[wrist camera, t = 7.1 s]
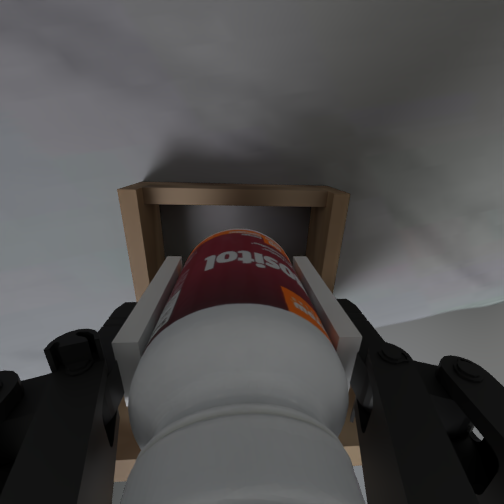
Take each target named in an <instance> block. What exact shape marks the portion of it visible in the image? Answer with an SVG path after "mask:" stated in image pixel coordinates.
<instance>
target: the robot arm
mask: <svg viewBox="0 0 504 504" xmlns="http://www.w3.org/2000/svg"><path fill="white" fill-rule="evenodd" d="M292 266H293V268H294V270H295V272H296V274H297V276H298V278H299V280H300V282H301V284H302V285H303V287H304V289H305V291H306V293H307V295H308V297H309V299H310V301H311V303H312V305H313V307H314V309H315V311H316V313H317V315H318V317H319V319H320V321H321V323H322V325H323V327H324V329H325V331H326V332H327V335H328V337H329V339H330V340H331V342H332V345H333V347H334V349H335V350H336V352H337V355H338V357H339V359H340V361H341V363H342V366H343V368H344V371H345V374H346V378H347V384H348V392H349V388H350V385H351V387H352V389H353V391H354V393H355V395H356V397H355V401H354V404H353V408H352V412H351V416H350V422H352V423H353V422H354V418H355V419H356V426H357V433H358V440H359V447H360V454H361V461H362V468H363V475H364V482H365V489H366V496H367V502H368V504H504V387H503V386H502V385H501V384H500V383H499V382H498V381H497V380H496V379H495V378H494V377H493V376H492V375H490V374H489V373H488V372H487V371H486V370H484V369H483V368H482V367H481V366H479V365H477V364H475V363H473V362H472V361H470V360H467V359H464V358H461V357H457V356H451V355H450V356H444V357H443V358H442V359H441V361H440V363H439V365H438V366H436V365H431V364H427V363H422V362H417V361H413V360H412V358H411V357H410V355H409V354H408V353H406V352H405V351H404V350H403V349H401V348H399V347H397V346H395V345H393V344H390V343H387V342H385V341H384V340H383V339H382V338H381V336H380V335H379V334H378V333H377V331H376V330H375V329H374V327H373V326H372V325H371V324H370V322H369V321H367V319H366V317H365V316H364V315H363V314H362V312H361V311H360V310H359V309H358V307H357V306H356V305H355V304H353V303H352V302H350V301H349V300H347V299H336V298H335V297H334V295H333V294H332V292H331V291H330V290H329V288H328V287H327V285H326V284H325V282H324V281H323V280H322V278H321V277H320V275H319V274H318V272H317V271H316V270H315V268H314V267H313V265H312V264H311V262H310V261H309V259H308V258H307V257H306V256H293V264H292ZM182 269H183V266H182V256H167V258H166V259H165V261H164V262H163V264H162V266H161V267H160V269H159V270H158V272H157V273H156V275H155V276H154V278H153V280H152V281H151V283H150V284H149V286H148V287H147V289H146V290H145V292H144V293H143V295H142V297H141V298H140V300H139V301H138V302H125V303H124V304H122V305H121V306H120V307H118V308H117V309H115V310H114V312H113V313H112V314H111V316H110V317H109V320H107V321H106V322H105V324H104V325H103V327H101V329H100V330H99V331H98V332H96V331H95V330H92V329H78V330H75V331H71V332H68V333H66V334H63V335H61V336H59V337H57V338H56V339H55V340H53V341H52V342H50V343H49V344H48V345H47V347H46V348H45V349H44V353H45V355H46V358H47V361H48V363H49V366H50V369H51V371H52V373H50V374H47V375H43V376H39V377H35V378H31V379H28V380H24V381H20V378H19V376H18V374H16V373H15V372H14V371H0V504H112V493H113V484H114V474H115V463H116V453H117V442H118V432H119V422H120V416H119V410H118V407H119V404H120V402H121V400H122V398H123V396H124V398H125V402H126V406H128V398H129V391H130V386H131V382H132V379H133V376H134V374H135V371H136V369H137V366H138V364H139V361H140V359H141V357H142V355H143V352H144V350H145V348H146V346H147V344H148V342H149V340H150V337H151V335H152V333H153V331H154V329H155V327H156V325H157V323H158V321H159V318H160V316H161V314H162V312H163V310H164V308H165V306H166V303H167V301H168V299H169V297H170V295H171V293H172V291H173V288H174V286H175V284H176V282H177V280H178V278H179V276H180V274H181V271H182ZM474 426H475V427H476V428H477V429H478V430H479V432H480V433H481V434H482V436H483V437H484V438H483V440H482V441H481V440H480V439H479V438H478V437H477V436H476V435H475V434H474V433H473V431H472V430H473V428H474Z"/></svg>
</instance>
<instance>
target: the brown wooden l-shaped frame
mask: <svg viewBox="0 0 504 504" xmlns="http://www.w3.org/2000/svg"><path fill="white" fill-rule="evenodd" d="M117 191H118V197H119V202H120V208H121V214H122V220H123V225H124V231H125V237H126V243H127V249H128V254H129V260H130V266H131V272H132V277H133V283H134V289H135V295H136V300H137V302H138V301H139V300H140V298H141V297H142V295H143V293H144V292H145V290H146V289H147V287H148V286H149V284H150V283H151V281H152V280H153V278H154V276H155V275H156V273H157V272H158V270H159V269H160V267H161V266H162V264H163V262H164V261H165V252H164V244H163V235H162V226H161V217H160V208H159V204H173V205H236V206H299V207H311V214H310V222H309V230H308V238H307V247H306V255H305V256H306V257H307V258H308V259H309V261H310V262H311V264H312V265H313V267H314V268H315V270H316V271H317V272H318V274H319V275H320V277H321V278H322V280H323V281H324V282H325V284H326V285H327V287H328V288H329V290H330V291H331V292H332V294H333V289H334V284H335V278H336V272H337V267H338V261H339V255H340V250H341V244H342V239H343V233H344V227H345V222H346V216H347V211H348V205H349V199H350V194H349V193H346V192H343V191H340V190H338V189H335V188H332V187H329V186H314V185H270V184H226V183H182V182H139V183H136V184H133V185H130V186H126V187H123V188H120V189H117ZM348 393H349V404H348V410H347V415H346V419H345V423H344V425H343V428H342V430H341V432H340V434H339V436H338V439H339V440H340V442H341V443H342V445H343V447H344V449H345V450H346V452H347V454H348V455H349V457H350V459H351V462H352V465H353V466H359V465H362V461H361V454H360V447H359V440H358V433H357V426H356V419H355V418H354V422H353V423H352V422H350V416H351V412H352V408H353V404H354V401H355V397H356V395H355V393H354V391H353V389H352V387H351V385H350V388H349V392H348ZM118 410H119V416H120V422H119V432H118V442H117V453H116V463H115V474H114V482H120V481H127V478H128V476H129V474H130V472H131V470H132V468H133V466H134V464H135V462H136V459H137V457H138V455H139V453H140V451H141V449H140V447H139V445H138V444H137V442H136V440H135V438H134V435H133V432H132V429H131V425H130V421H129V413H128V406H126V402H125V398H124V396H123V398H122V400H121V402H120V404H119V407H118Z"/></svg>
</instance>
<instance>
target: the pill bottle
mask: <svg viewBox="0 0 504 504" xmlns="http://www.w3.org/2000/svg"><path fill="white" fill-rule="evenodd" d="M348 404H349V393H348V384H347V378H346V374H345V371H344V368H343V366H342V363H341V361H340V359H339V357H338V355H337V352H336V350H335V349H334V347H333V345H332V342H331V340H330V339H329V337H328V335H327V332H326V331H325V329H324V327H323V325H322V323H321V321H320V319H319V317H318V315H317V313H316V311H315V309H314V307H313V305H312V303H311V301H310V299H309V297H308V295H307V293H306V291H305V289H304V287H303V285H302V284H301V282H300V280H299V278H298V276H297V274H296V272H295V270H294V268H293V266H292V264H291V262H290V260H289V258H288V256H287V255H286V253H285V252H284V250H283V249H282V248H281V246H280V245H279V244H278V243H276V242H275V241H274V240H273V239H271V238H270V237H268V236H267V235H265V234H263V233H260V232H258V231H255V230H250V229H241V228H236V229H227V230H223V231H219V232H216V233H214V234H212V235H210V236H208V237H207V238H205V239H204V240H203V241H201V242H200V243H199V244H198V245H197V246H196V247H195V248H194V250H193V251H192V252H191V254H190V255H189V257H188V259H187V261H186V263H185V265H184V267H183V269H182V271H181V274H180V276H179V278H178V280H177V282H176V284H175V286H174V288H173V291H172V293H171V295H170V297H169V299H168V301H167V303H166V306H165V308H164V310H163V312H162V314H161V316H160V318H159V321H158V323H157V325H156V327H155V329H154V331H153V333H152V335H151V337H150V340H149V342H148V344H147V346H146V348H145V350H144V352H143V355H142V357H141V359H140V361H139V364H138V366H137V369H136V371H135V374H134V376H133V379H132V382H131V386H130V391H129V398H128V413H129V421H130V425H131V429H132V432H133V435H134V438H135V440H136V442H137V444H138V445H139V447H140V449H141V451H140V453H139V455H138V457H137V459H136V462H135V464H134V466H133V468H132V470H131V472H130V474H129V476H128V478H127V482H126V485H125V488H124V492H123V495H122V498H121V502H120V504H365V501H364V499H363V496H362V493H361V490H360V487H359V483H358V481H357V478H356V476H355V473H354V469H353V465H352V462H351V459H350V457H349V455H348V454H347V452H346V450H345V449H344V447H343V445H342V443H341V442H340V440H339V439H338V436H339V434H340V432H341V430H342V428H343V425H344V423H345V419H346V415H347V410H348Z"/></svg>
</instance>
